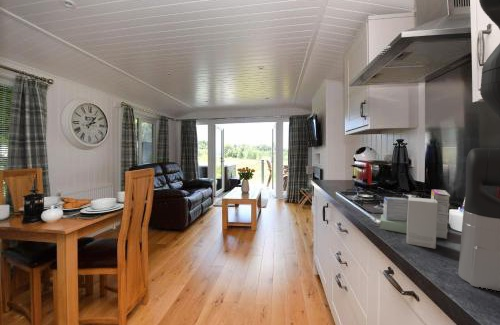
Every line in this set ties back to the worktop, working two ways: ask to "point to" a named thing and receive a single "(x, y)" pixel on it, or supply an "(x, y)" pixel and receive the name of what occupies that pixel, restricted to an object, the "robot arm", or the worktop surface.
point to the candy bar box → (442, 212)
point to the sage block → (393, 225)
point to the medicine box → (395, 208)
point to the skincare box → (422, 222)
